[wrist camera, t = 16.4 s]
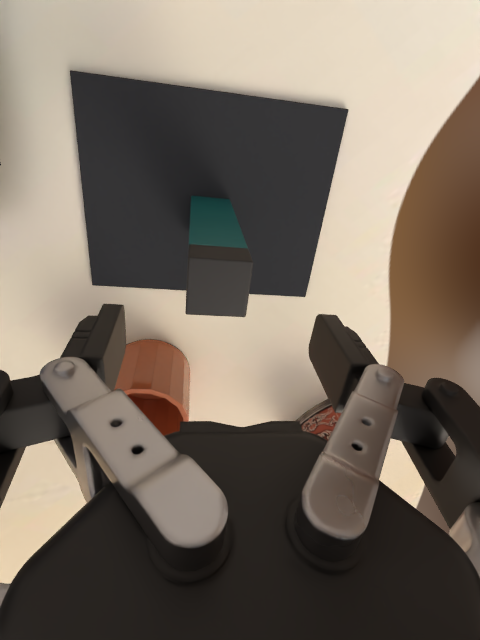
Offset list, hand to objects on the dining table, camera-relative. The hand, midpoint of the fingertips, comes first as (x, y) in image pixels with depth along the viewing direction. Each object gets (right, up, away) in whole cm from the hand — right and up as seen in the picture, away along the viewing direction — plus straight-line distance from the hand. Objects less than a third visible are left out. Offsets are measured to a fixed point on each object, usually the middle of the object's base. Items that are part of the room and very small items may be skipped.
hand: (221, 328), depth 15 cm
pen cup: (-9, -5, +23) cm, 25 cm away
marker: (-2, +9, +15) cm, 18 cm away
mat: (-2, +10, +15) cm, 18 cm away
